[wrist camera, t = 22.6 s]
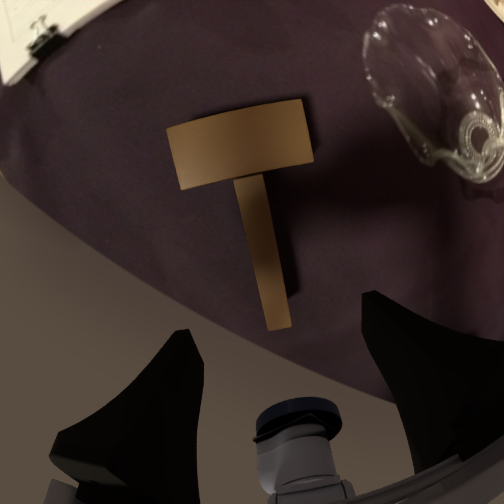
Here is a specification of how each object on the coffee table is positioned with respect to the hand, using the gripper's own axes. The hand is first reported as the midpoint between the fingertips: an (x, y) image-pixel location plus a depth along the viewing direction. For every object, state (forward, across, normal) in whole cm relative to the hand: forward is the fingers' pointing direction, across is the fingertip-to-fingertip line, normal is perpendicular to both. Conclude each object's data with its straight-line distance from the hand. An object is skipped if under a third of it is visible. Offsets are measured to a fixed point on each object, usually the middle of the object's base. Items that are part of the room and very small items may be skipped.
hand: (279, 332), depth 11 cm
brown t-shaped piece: (+9, 0, -2) cm, 10 cm away
